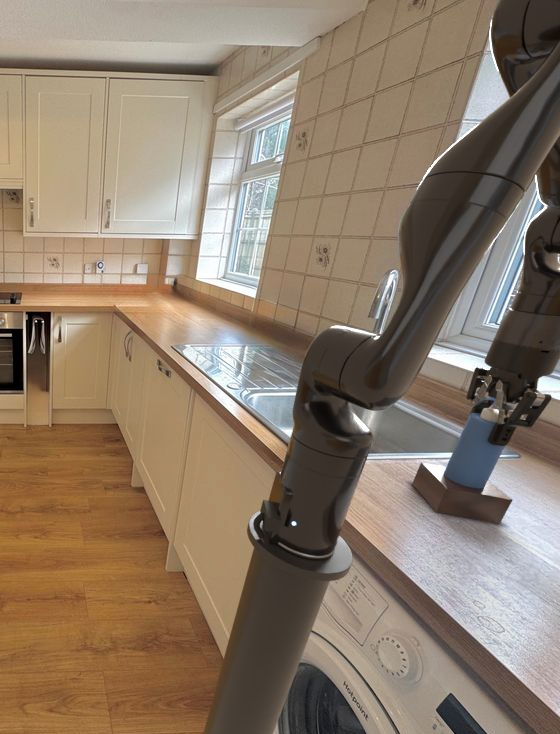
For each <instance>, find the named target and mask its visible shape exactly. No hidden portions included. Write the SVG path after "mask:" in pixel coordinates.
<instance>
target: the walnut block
mask: <svg viewBox="0 0 560 734" xmlns="http://www.w3.org/2000/svg"><path fill="white" fill-rule="evenodd" d="M446 467H447V465H446V466H445V465H440V464H434V463H427V462H420V464H419V466H418V468H417V471H416V474H415V476H414V477H413V480H412V483H411V485H412V486H413V488H415V490H417V492H418V493H419V494H420V495H421V497H422V498H424V500H425V501H426V502H427V504H429V505H430V507H431V509H433V510H434V511H435V513H440V514H444V515H445V514H446V515H450V516H457V517H461V518H465V519H466V518H467V519H471V520H477V521H483V522H488V523H492V524H499V525H500V524H501V523H502V521H503V519H504V517H505V515H506V513H507V512H508V510H509V508H510V506H511V504H512V502H513V499H512V497H510V496H508V494H507V493H505V492H504V491H503V490H502V489H500V488H499V487H498V486H497V485H496V484H494V483H493V482H492V481H491V480H489V479H488V481H487V483H486V485H485V487H484V488H480V489H478V488H471V487H467V486H463V485H460V484H458V483H455V482H453V481H451V480H450V479H448V478H447V477H445V475H444V471H445V469H446Z"/></svg>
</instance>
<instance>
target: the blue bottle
mask: <svg viewBox="0 0 560 734" xmlns="http://www.w3.org/2000/svg"><path fill="white" fill-rule="evenodd" d="M470 413H471V412H470ZM470 413H469V415H470V416H469V415H468V417H469V418H468V417H467V419H468V420H467V419H466V421H465V425H464V427H463V429H462V431H461V434H460V435H459V438H458V440H457V442H456V444H455V447H454V449H453V451H452V454H451V456H450V458H449V460H448V463H447V465H446V469H445V471H444V475H445V477H447V478H448V479H450V480H451V481H453V482H455V483H458V484H460V485H463V486H467V487H471V488H478V489H480V488H484V487H485V485H486V483H487V481H488V480H489V479H490V477H491V475H492V473H493V471H494V469H495V467H496V465H497V463H498V461H499V459H500V458H501V455H502V453H503V451H504V449H505V447H506V446H498V445H492V444H490V443H489V442H488V438H489V436H490V434H491V432H492V430H493V428H494V426H495V424H496V422H497V423H498V414H499V410H498V409H496V408H484V409H483V411H482V413H471V414H470ZM508 416H510V414H509V413H508Z"/></svg>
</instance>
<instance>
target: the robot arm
mask: <svg viewBox="0 0 560 734" xmlns="http://www.w3.org/2000/svg"><path fill="white" fill-rule="evenodd" d="M489 44H490V50H491V56H492V58H493V61H494V64H495V67H496V70H497V72H498V75H499V76H500V78H501V80H502V83H503V86H504V88H505V90H506V93H507V95H508V99H507V100H506V101H505V102H503V103H502V104H501V105H500V106H498V107H497V108H496V109H495V110H493V111H492V112H491V113H490V114H488V115H487V116H486V117H485V118H483V119H482V120H481V121H479V123H478V124H476V125H474V127H473V128H471V129H470V130H469V131H467V132H466V134H464V135H463V136H462V137H460V138H459V139H458V140H457V141H456V142H455V143H453V144H452V145H451V146H450V147H449V148H448V149H446V150H445V152H444V153H442V154H441V155H440V156H439V157H438V158H437V159H436V160H435V161H434V162H433V164H432V165H431V167H429V168H428V170H427V172H426V173H425V175H423V178H422V179H421V181H420V183H419V185H418V187H417V189H416V190H415V192H414V193H413V195H412V197H411V198H410V200H409V202H408V204H407V206H406V208H405V209H404V211H403V214H402V215H401V217H400V219H399V223H398V225H397V233H396V234H397V235H396V238H397V240H396V241H397V250H398V251H397V252H398V260H399V266H400V276H401V290H400V295H399V298H398V301H397V304H396V307H395V309H394V312H393V313H392V316H391V317H390V320H389V321H388V323H387V325H386V327H385V328H384V329H383V332H381V333H378V332H374V331H370V330H366V329H362V328H358V327H353V326H349V325H342V324H341V325H340V324H339V325H338V324H337V325H332V326H328V327H327V328H325V329H323V330H322V331H320V332H319V333H318V334H317V335H316V336H315V337H314V338H313V340H312V341H311V343H310V344H309V346H308V347H307V351H306V352H305V355H304V357H303V360H302V364H301V366H300V370H299V376H298V380H297V381H298V382H297V385H296V391H295V396H294V401H293V405H292V410H291V411H292V420H293V421H292V422H293V427H292V431H291V434H290V438H289V441H288V442H289V443H288V445H287V448H286V452H285V457H284V460H283V463H282V467H281V470H277V471H276V473H275V475H274V478H273V483H272V486H271V490H270V494H269V497H268V500H267V499H262V502H261V507H260V510H259V511H260V514H259V515H258V516H257V517H256V518H255V520H254V523H253V526H254V530H255V532H256V533H257V535H258V537H259V538H264V537H265V535H264V533H263V531H262V530H261V528H260V523H261V522H262V521H263V526H264V530H265V531H266V533H267V537H268V541H269V543H270V544H272V545H276V546H279V547H280V548H281V549H283V550H285V551H287V552H288V553H290V554H293V555H295V556H298V557H301V558H304V559H308V560H326V559H328V558H330V557H331V556H332V555H333V553H334V551H335V546H336V544H337V541H338V537H339V536H341V535H340V534H341V531H342V528H343V527H344V523H345V520H346V517H347V515H348V512H349V510H350V507H351V504H352V501H353V499H354V495H355V492H356V490H357V487H358V484H359V482H360V481H359V480H360V479H361V476H362V473H363V471H364V468H365V465H366V462H367V459H368V457H369V455H370V451H371V449H372V447H373V443H374V433H373V431H372V429H371V428H370V427H369V426H368V425H367V424H366V423H365V422H364V421H363V420H362V418H360V417H359V416H358V414H357V413H356V412H355V410H354V409H353V406H354V405H355V406H357V407H360V408H362V409H364V410H367V411H368V410H369V411H372V412H379V411H384V410H387V409H389V408H391V407H393V406H394V405H395V404H396V403H398V402H399V401H400V400H401V399H402V398H403V397H404V396H405V394H407V392H408V391H409V390H410V389H411V387H412V385H414V383H415V381H416V379H417V377H418V376H419V374H420V372H421V371H422V369H423V366H424V365H425V363H426V361H427V360H428V357H429V355H430V354H431V351H432V349H433V348H434V345H435V343H436V342H437V339H438V338H439V335H440V334H441V332H442V329H443V328H444V325H445V323H446V321H447V320H448V318H449V316H450V314H451V312H452V310H453V309H454V306H455V304H456V303H457V301H458V299H459V297H461V294H462V293H463V291H464V290H465V288H466V285H467V284H468V282H469V281H470V279H471V278H472V276H473V274H474V273H475V272H476V270H477V268H478V266H479V265H480V263H481V262H482V260H483V259H484V257H485V255H486V254H487V252H488V251H489V249H490V248H491V246H492V245H493V243H494V242H495V240H496V239H497V238H498V236H499V234H500V233H501V232H502V230H503V229H504V227H506V224H507V223H508V222H509V220H510V218H511V217H512V215H513V213H514V212H515V210H516V209H517V208H518V206H519V204H520V203H521V201H522V199H523V198H524V196H525V194H526V193H527V192H528V189H529V188H530V186H531V184H532V182H533V181H534V179H535V183H536V188H537V189H536V191H537V196H538V199H539V201H540V202H541V203H542V204H543V205H544V206H546V207H544V208H543V209H541V210H540V211H539V212H538V213H537V214H535V215H534V217H532V219H531V220H530V221H529V223H528V225H527V227H526V229H525V233H524V239H523V262H522V271H521V278H520V282H519V286H518V289H517V290H516V294H515V295H514V298H513V299H512V302H511V304H510V306H509V308H508V310H507V312H506V314H505V315H504V317H503V319H502V320H501V322H500V323H499V326H498V329H497V331H496V333H495V335H494V338H493V340H492V342H491V345H490V347H489V349H488V352H487V353H486V357H485V358H484V364H485V365H487V366H488V368H487V367H478V366H477V367H475V368H474V371H473V374H472V376H471V379H470V384H469V385H468V386H469V387H468V390H467V393H466V399H467V401H471V403H470V407H472V408H471V410H470V413H469V415H468V417H467V419H466V421H467V420H468V418H469V416H470V414H471V413H482V411H483V409H484V408H492V409H494V407H495V409H497V410H499V414H498V423H497V422H496V424H495V426H494V428H493V430H492V432H491V434H490V436H489V438H488V442H489V443H490V444H492V445H498V446H505V447H506V446H508V444H509V443H510V441H511V439H512V437H513V435H514V433H515V431H516V429H517V428H519V427H520V428H526V429H531V428H532V427H533V426H534V425H535V423H536V422H537V421H538V419H539V418H540V416H541V415H542V413H543V412H544V410H545V409H546V407H548V405H549V404H550V403H551V400H552V398H553V397H552V395H551V394H550V393H543V392H540V391H539V390H538V384H539V379H540V378H542V377H547V376H550V375H552V374H553V373H554V371H555V370H556V367H557V365H558V363H559V361H560V261H559V255H560V0H498V1H497V3H496V6H495V8H494V10H493V14H492V17H491V20H490V28H489ZM489 367H490V368H489ZM478 388H479V389H478ZM351 404H352V405H353V406H352V405H351ZM509 412H511V414H509ZM508 414H509V415H508ZM525 415H527V416H526V417H524V416H525Z"/></svg>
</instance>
